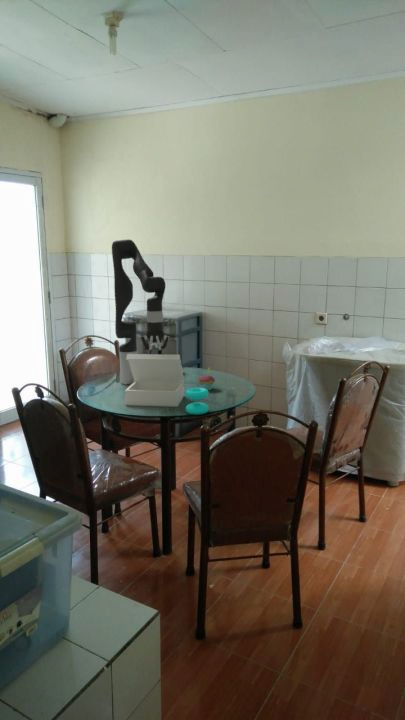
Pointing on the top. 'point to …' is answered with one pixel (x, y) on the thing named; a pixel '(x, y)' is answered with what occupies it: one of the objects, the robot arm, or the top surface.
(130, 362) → the lid
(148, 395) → the mailer base
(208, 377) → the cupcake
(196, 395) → the donuts
